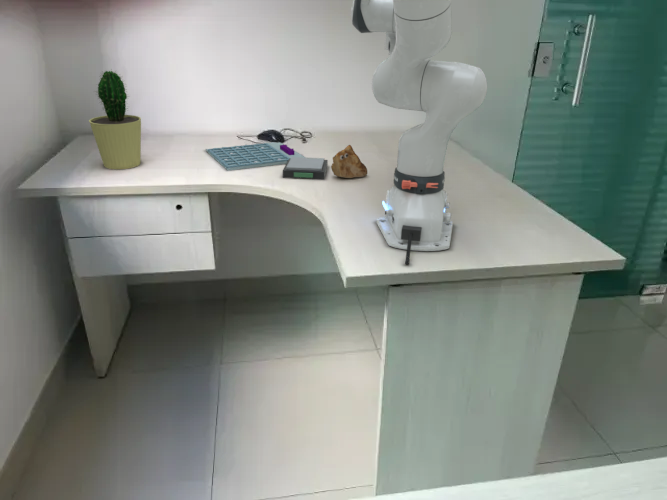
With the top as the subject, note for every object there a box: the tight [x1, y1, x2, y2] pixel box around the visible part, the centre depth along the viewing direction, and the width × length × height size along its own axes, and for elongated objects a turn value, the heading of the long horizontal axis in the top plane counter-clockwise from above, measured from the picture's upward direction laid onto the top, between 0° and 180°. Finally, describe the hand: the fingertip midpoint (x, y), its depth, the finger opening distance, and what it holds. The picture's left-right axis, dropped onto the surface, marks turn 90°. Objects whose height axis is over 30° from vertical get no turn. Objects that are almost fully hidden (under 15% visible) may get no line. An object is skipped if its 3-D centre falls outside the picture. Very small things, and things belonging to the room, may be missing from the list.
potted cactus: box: [88, 68, 142, 170], centre depth 166 cm, size 15×15×30 cm
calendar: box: [205, 141, 305, 171], centre depth 185 cm, size 27×29×2 cm
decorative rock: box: [330, 144, 368, 179], centre depth 163 cm, size 12×6×11 cm, turn 118°
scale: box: [282, 156, 329, 180], centre depth 169 cm, size 14×13×3 cm
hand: (397, 93), depth 153 cm, fingers open, 8 cm apart
